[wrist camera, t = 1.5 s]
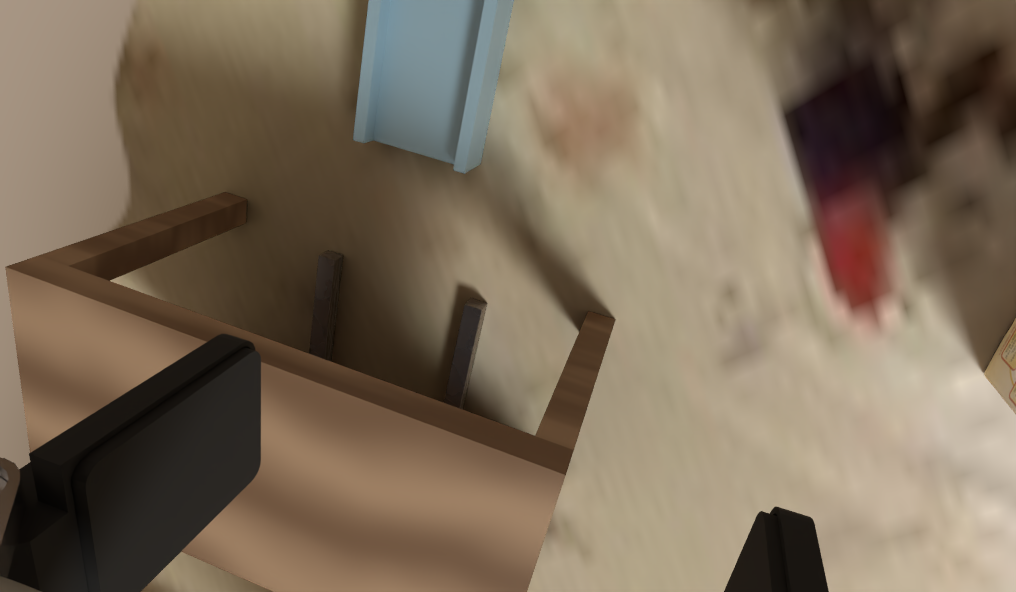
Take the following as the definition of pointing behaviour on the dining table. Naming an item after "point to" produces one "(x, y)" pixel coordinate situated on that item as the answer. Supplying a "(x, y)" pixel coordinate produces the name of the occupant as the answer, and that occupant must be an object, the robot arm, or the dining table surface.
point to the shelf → (310, 426)
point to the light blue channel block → (431, 76)
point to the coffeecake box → (1005, 368)
